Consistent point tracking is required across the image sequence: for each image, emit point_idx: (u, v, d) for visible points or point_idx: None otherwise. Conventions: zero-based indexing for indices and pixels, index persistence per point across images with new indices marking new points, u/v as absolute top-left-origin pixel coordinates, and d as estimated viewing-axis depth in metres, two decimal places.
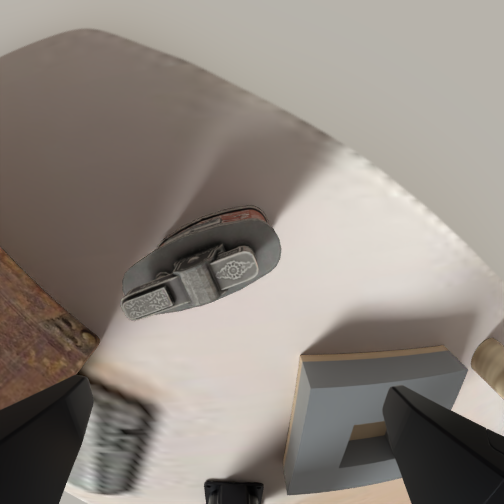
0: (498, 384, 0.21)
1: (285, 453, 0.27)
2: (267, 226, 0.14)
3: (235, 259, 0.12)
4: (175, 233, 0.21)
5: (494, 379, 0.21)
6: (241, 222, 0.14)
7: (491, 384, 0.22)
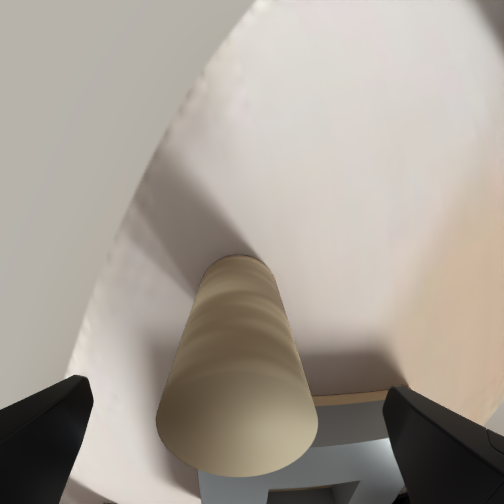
0: None
1: None
2: None
3: None
4: None
5: None
6: None
7: None
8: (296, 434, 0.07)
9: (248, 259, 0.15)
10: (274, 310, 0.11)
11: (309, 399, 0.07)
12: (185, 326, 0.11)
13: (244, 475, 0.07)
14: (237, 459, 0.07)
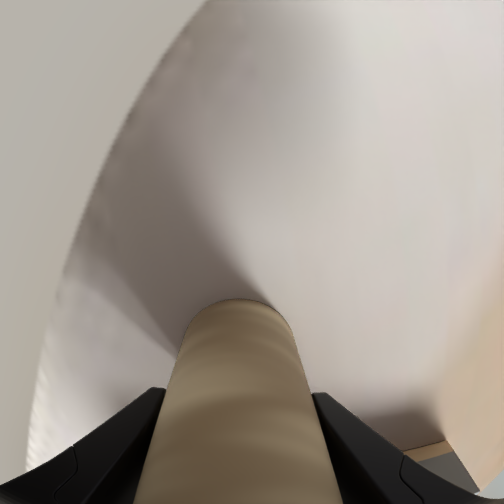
0: None
1: None
2: None
3: None
4: None
5: None
6: None
7: None
8: None
9: (254, 308, 0.10)
10: (305, 436, 0.05)
11: None
12: (148, 449, 0.05)
13: None
14: None
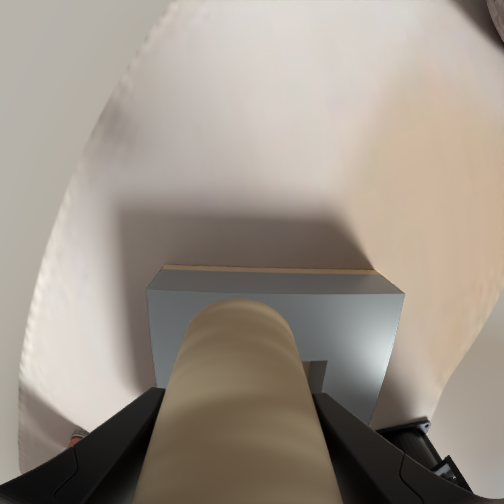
0: None
1: None
2: None
3: None
4: None
5: None
6: None
7: None
8: None
9: (253, 307, 0.10)
10: (304, 436, 0.05)
11: None
12: (148, 448, 0.05)
13: None
14: None
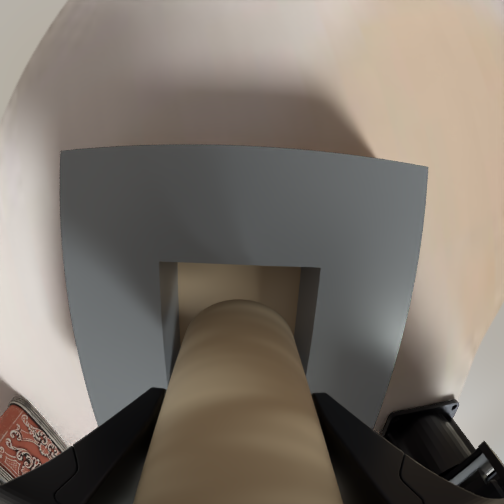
0: None
1: None
2: None
3: None
4: None
5: None
6: None
7: None
8: None
9: (254, 309, 0.10)
10: (305, 438, 0.05)
11: None
12: (148, 450, 0.05)
13: None
14: None
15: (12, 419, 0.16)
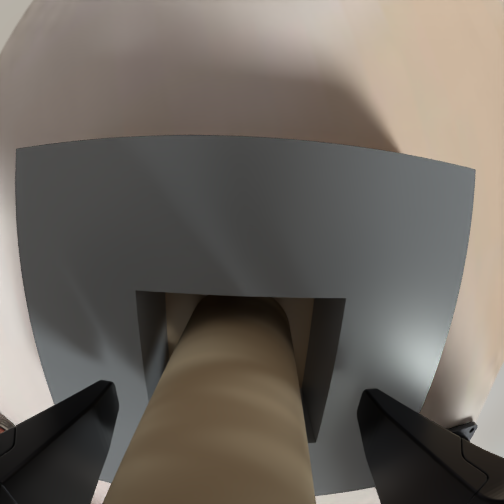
0: None
1: None
2: None
3: None
4: None
5: None
6: None
7: None
8: None
9: None
10: (278, 396, 0.06)
11: None
12: None
13: None
14: None
15: None
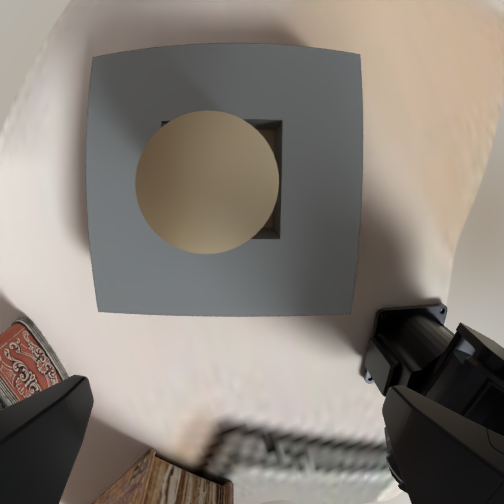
0: None
1: None
2: None
3: None
4: None
5: None
6: None
7: None
8: (259, 184, 0.09)
9: None
10: None
11: (266, 142, 0.08)
12: None
13: (214, 249, 0.09)
14: (206, 222, 0.09)
15: (13, 333, 0.19)
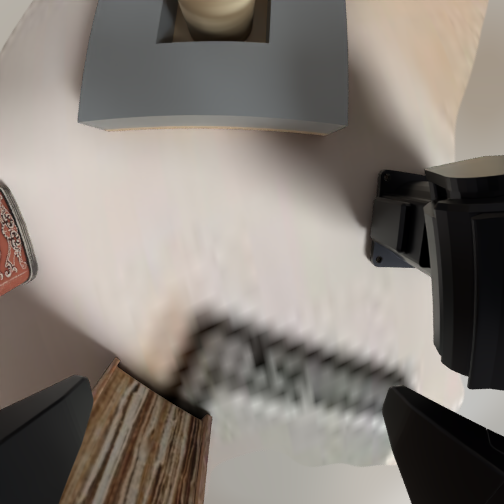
0: (219, 13, 0.12)
1: (292, 131, 0.18)
2: None
3: None
4: None
5: (217, 20, 0.12)
6: None
7: (235, 18, 0.13)
8: None
9: None
10: None
11: None
12: None
13: None
14: None
15: None
